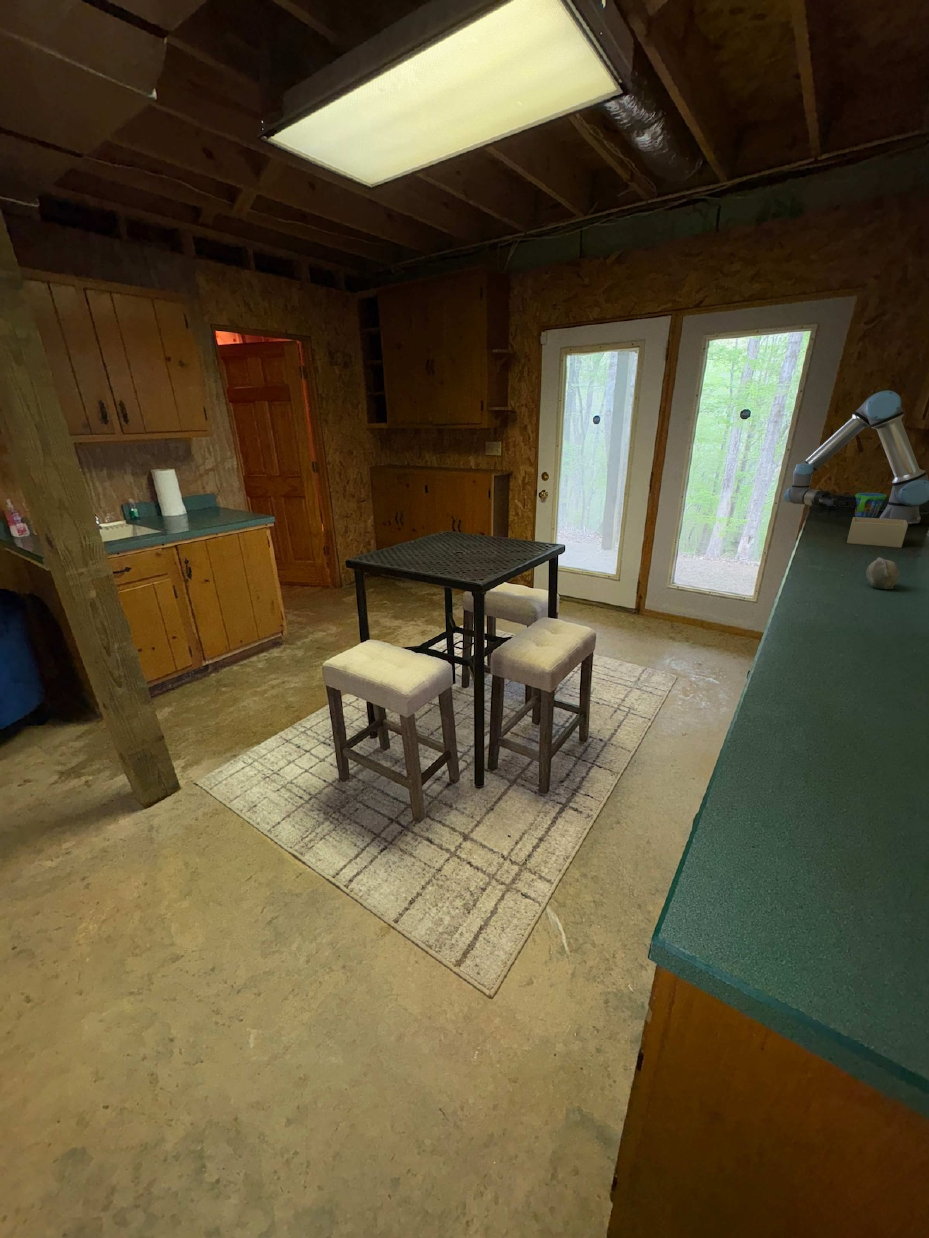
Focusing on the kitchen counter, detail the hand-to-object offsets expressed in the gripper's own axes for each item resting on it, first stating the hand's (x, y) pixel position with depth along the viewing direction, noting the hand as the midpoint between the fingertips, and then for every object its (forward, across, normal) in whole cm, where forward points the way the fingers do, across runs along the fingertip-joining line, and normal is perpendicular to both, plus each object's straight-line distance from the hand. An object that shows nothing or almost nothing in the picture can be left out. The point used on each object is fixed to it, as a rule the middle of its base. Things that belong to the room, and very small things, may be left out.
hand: (865, 502), depth 218 cm
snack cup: (+2, +1, -6) cm, 7 cm away
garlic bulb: (+52, +76, -14) cm, 94 cm away
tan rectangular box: (+15, +16, -13) cm, 26 cm away
